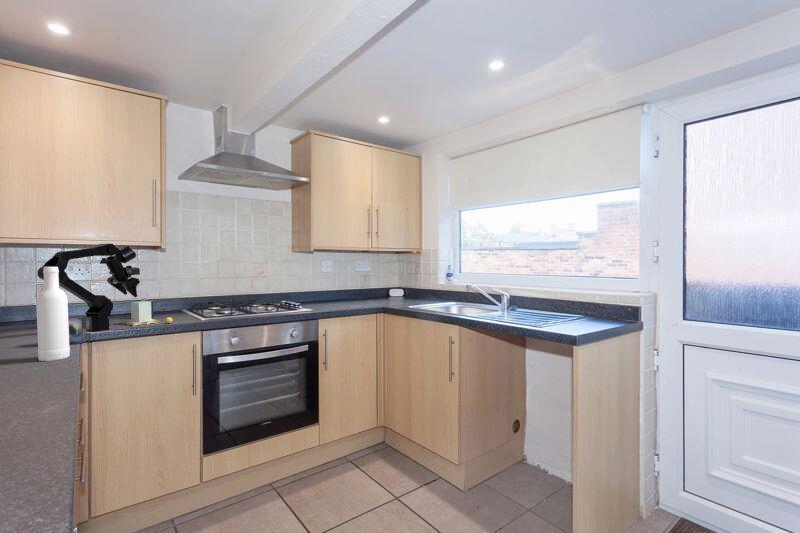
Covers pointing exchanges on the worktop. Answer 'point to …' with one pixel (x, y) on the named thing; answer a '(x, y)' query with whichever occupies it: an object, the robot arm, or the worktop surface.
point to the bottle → (52, 319)
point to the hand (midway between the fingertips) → (131, 295)
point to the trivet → (140, 322)
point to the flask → (151, 307)
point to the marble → (168, 320)
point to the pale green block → (141, 311)
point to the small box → (77, 329)
